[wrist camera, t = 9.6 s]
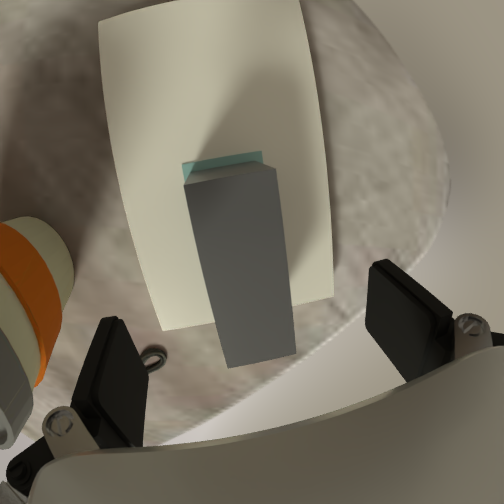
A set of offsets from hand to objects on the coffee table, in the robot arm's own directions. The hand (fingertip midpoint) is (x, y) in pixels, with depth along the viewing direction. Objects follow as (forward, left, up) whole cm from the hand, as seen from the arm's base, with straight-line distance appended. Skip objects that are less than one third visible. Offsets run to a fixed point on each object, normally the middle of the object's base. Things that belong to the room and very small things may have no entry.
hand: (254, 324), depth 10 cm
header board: (-5, 0, -13) cm, 14 cm away
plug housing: (+1, 0, -11) cm, 11 cm away
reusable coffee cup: (0, -18, -13) cm, 22 cm away
